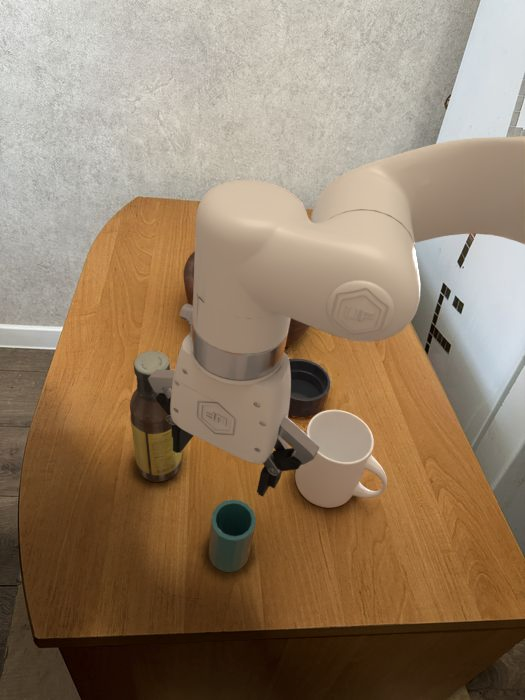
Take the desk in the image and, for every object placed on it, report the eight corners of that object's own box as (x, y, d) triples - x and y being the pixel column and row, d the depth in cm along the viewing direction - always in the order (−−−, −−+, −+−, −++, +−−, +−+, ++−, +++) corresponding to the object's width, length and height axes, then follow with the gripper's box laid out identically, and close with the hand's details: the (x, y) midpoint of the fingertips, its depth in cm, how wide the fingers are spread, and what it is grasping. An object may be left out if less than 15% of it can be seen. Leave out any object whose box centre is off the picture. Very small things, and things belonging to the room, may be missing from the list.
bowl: (333, 391, 87) (338, 372, 84) (312, 428, 81) (317, 409, 78) (284, 370, 90) (288, 351, 87) (260, 404, 84) (263, 385, 80)
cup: (256, 545, 66) (263, 512, 61) (236, 579, 63) (242, 548, 58) (221, 526, 68) (225, 492, 62) (200, 559, 64) (203, 526, 59)
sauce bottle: (188, 453, 75) (191, 352, 62) (171, 489, 71) (170, 389, 57) (146, 440, 76) (140, 338, 63) (126, 476, 72) (115, 373, 58)
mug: (362, 535, 69) (384, 490, 62) (282, 489, 73) (295, 441, 65) (385, 487, 75) (408, 441, 68) (310, 447, 78) (324, 399, 71)
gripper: (120, 324, 42) (131, 452, 54) (320, 414, 37) (285, 533, 49) (173, 278, 47) (173, 404, 59) (355, 353, 43) (315, 473, 54)
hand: (224, 463), depth 54 cm, fingers open, 9 cm apart
